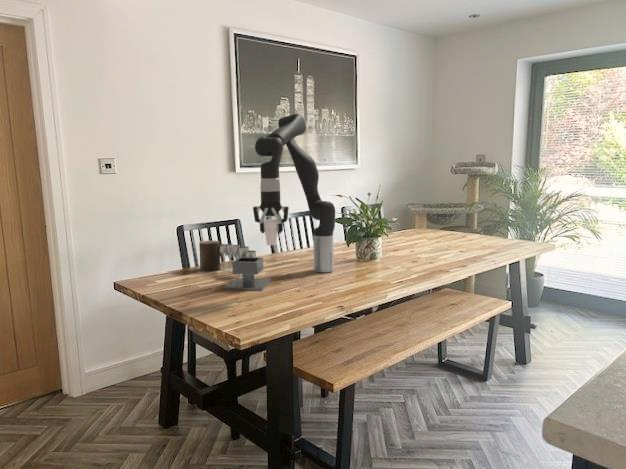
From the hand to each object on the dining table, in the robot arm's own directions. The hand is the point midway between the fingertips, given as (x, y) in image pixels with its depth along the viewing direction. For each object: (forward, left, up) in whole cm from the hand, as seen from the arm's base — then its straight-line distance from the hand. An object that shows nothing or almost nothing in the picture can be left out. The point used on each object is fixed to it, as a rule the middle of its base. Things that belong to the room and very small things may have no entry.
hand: (271, 232), depth 191 cm
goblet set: (+25, -32, -25) cm, 47 cm away
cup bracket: (+13, -11, -24) cm, 30 cm away
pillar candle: (+40, -38, -25) cm, 60 cm away
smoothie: (0, 0, -5) cm, 5 cm away
